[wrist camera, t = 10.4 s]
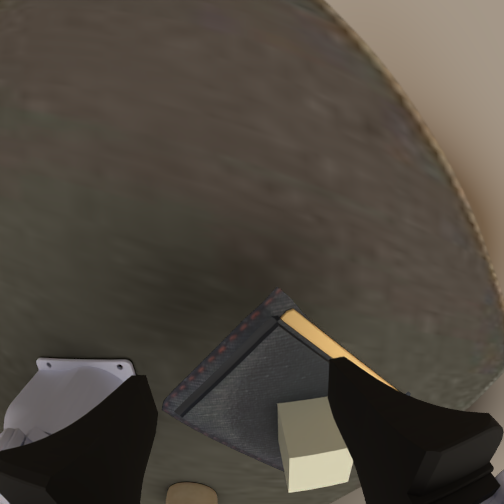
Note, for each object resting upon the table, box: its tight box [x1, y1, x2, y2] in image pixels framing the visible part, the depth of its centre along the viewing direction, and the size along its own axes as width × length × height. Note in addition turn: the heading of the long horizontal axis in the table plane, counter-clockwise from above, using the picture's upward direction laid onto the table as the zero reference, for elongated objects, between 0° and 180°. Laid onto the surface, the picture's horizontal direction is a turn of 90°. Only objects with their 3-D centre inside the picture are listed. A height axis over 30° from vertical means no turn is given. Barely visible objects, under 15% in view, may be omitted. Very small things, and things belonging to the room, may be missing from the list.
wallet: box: [162, 287, 410, 471], centre depth 24 cm, size 20×2×15 cm
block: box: [277, 396, 353, 493], centre depth 20 cm, size 4×4×6 cm
